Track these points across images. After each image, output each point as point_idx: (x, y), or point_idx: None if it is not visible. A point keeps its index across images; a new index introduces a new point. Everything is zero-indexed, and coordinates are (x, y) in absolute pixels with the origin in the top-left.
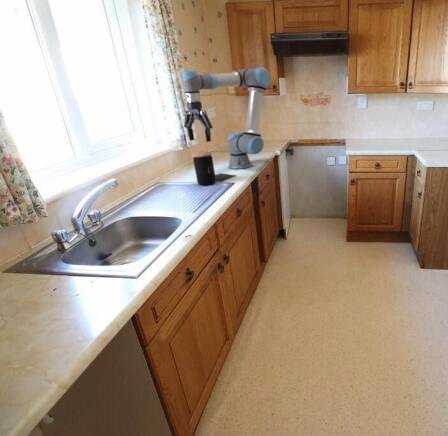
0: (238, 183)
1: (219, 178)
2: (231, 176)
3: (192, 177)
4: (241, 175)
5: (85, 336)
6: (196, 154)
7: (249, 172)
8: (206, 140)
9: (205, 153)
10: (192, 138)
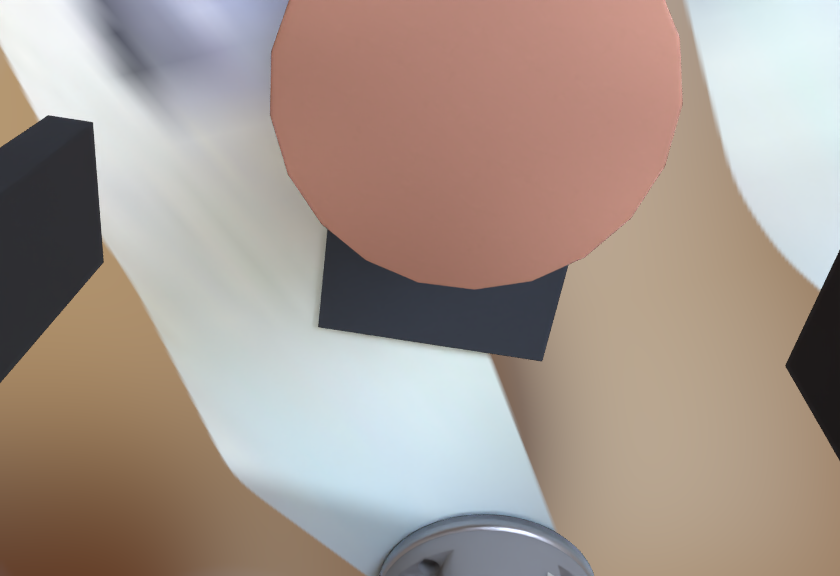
0: (81, 88)
1: None
2: (336, 286)
3: (831, 171)
4: (266, 349)
5: None
6: (549, 7)
7: (256, 447)
8: (62, 134)
9: (396, 139)
10: (828, 341)
